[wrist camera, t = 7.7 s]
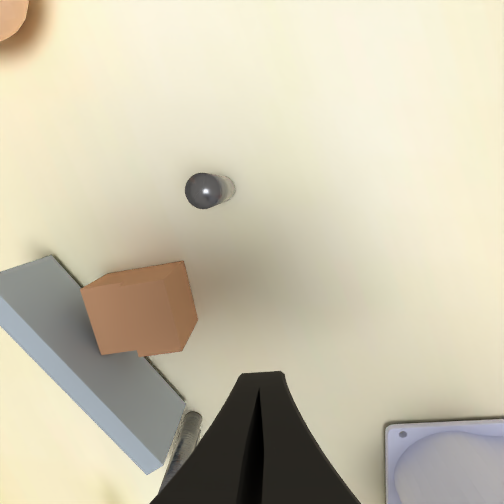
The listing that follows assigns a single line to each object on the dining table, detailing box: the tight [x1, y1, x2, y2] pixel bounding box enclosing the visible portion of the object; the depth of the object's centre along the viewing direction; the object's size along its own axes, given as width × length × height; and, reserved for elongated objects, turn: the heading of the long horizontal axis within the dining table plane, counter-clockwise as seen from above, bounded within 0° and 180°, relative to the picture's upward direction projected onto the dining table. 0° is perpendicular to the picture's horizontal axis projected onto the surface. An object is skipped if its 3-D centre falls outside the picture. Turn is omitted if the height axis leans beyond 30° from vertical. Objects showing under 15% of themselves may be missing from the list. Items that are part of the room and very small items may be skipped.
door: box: [0, 255, 186, 475], centre depth 17 cm, size 2×13×4 cm, turn 37°
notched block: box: [80, 261, 198, 357], centre depth 17 cm, size 5×4×4 cm
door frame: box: [158, 173, 235, 494], centre depth 16 cm, size 1×20×6 cm, turn 172°
